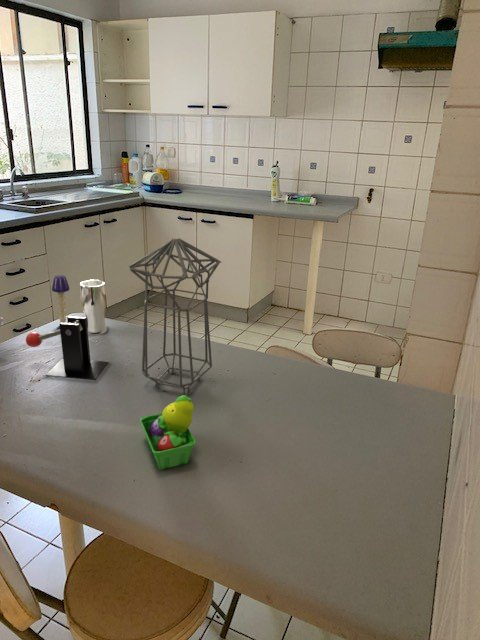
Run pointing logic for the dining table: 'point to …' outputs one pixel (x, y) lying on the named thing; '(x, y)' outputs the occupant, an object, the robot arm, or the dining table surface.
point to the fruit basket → (171, 433)
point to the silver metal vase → (94, 305)
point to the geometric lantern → (163, 251)
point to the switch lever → (44, 336)
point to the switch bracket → (76, 353)
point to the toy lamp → (60, 295)
